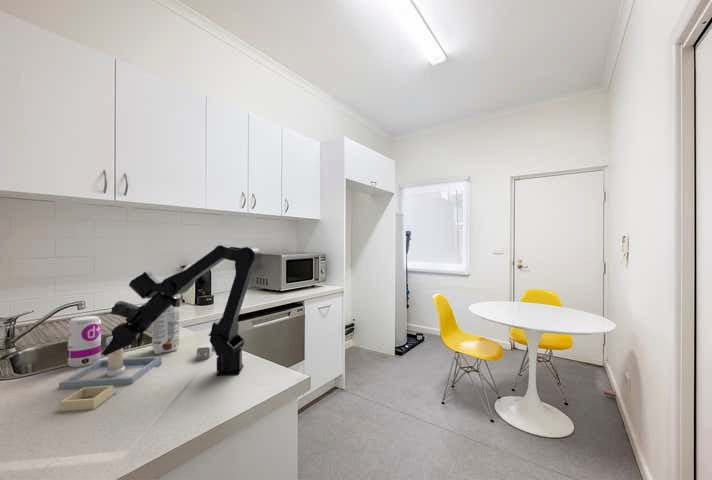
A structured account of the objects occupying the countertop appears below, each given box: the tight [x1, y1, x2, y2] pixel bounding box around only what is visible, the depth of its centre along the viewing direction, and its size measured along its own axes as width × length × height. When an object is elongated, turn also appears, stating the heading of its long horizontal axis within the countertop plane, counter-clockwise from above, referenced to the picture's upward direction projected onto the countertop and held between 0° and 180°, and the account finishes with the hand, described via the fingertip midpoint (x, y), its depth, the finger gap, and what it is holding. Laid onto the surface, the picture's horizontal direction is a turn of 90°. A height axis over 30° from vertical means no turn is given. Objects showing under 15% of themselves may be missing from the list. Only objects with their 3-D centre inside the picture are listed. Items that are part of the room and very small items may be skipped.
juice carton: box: [151, 296, 180, 355], centre depth 112 cm, size 8×9×19 cm
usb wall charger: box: [196, 342, 213, 360], centre depth 104 cm, size 4×7×4 cm, turn 16°
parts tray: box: [58, 356, 162, 390], centre depth 89 cm, size 18×16×2 cm
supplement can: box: [67, 314, 102, 368], centre depth 100 cm, size 8×8×15 cm
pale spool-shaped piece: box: [105, 335, 126, 378], centre depth 90 cm, size 4×4×11 cm
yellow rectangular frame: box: [55, 385, 117, 414], centre depth 73 cm, size 8×8×3 cm
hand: (109, 349), depth 89 cm, fingers open, 9 cm apart
